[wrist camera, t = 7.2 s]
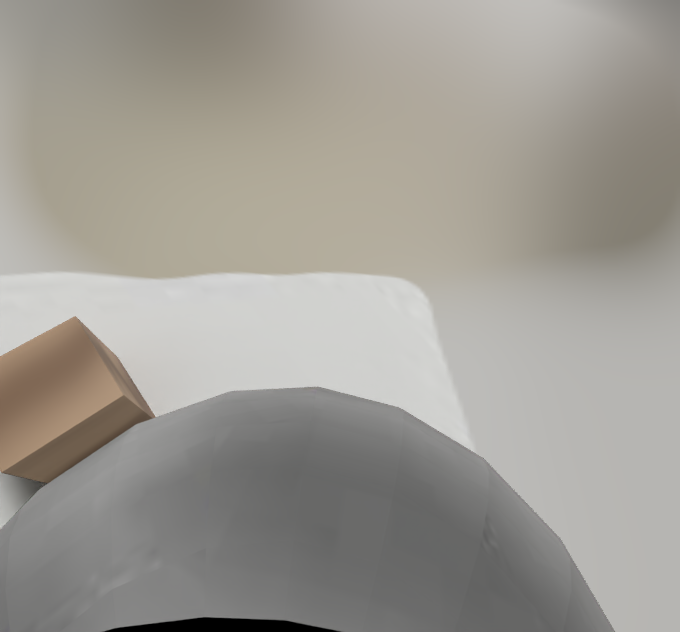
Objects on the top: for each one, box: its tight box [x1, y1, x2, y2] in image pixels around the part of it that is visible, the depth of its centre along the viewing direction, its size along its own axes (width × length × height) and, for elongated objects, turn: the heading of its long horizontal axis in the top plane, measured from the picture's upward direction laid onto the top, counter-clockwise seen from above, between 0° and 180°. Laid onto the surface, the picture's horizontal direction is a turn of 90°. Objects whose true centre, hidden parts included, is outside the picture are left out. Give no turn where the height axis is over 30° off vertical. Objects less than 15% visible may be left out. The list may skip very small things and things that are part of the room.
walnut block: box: [0, 316, 156, 483], centre depth 20 cm, size 5×5×5 cm
